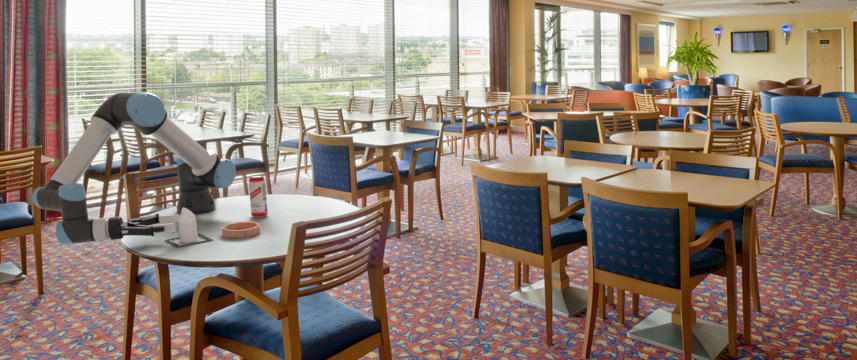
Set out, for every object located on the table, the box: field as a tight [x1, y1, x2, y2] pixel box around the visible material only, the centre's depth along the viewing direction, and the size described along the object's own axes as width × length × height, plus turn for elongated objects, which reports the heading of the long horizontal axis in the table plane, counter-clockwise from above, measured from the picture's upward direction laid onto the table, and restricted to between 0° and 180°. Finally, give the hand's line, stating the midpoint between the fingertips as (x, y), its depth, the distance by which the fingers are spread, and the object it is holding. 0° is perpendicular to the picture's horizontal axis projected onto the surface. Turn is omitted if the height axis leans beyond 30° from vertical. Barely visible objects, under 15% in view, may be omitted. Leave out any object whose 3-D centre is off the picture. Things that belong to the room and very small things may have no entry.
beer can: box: [248, 174, 269, 219], centre depth 261 cm, size 6×6×16 cm
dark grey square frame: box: [164, 232, 214, 248], centre depth 230 cm, size 12×12×1 cm
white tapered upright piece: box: [177, 207, 199, 244], centre depth 229 cm, size 6×12×6 cm
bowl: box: [221, 221, 261, 239], centre depth 237 cm, size 13×13×3 cm
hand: (177, 222), depth 227 cm, fingers open, 13 cm apart
